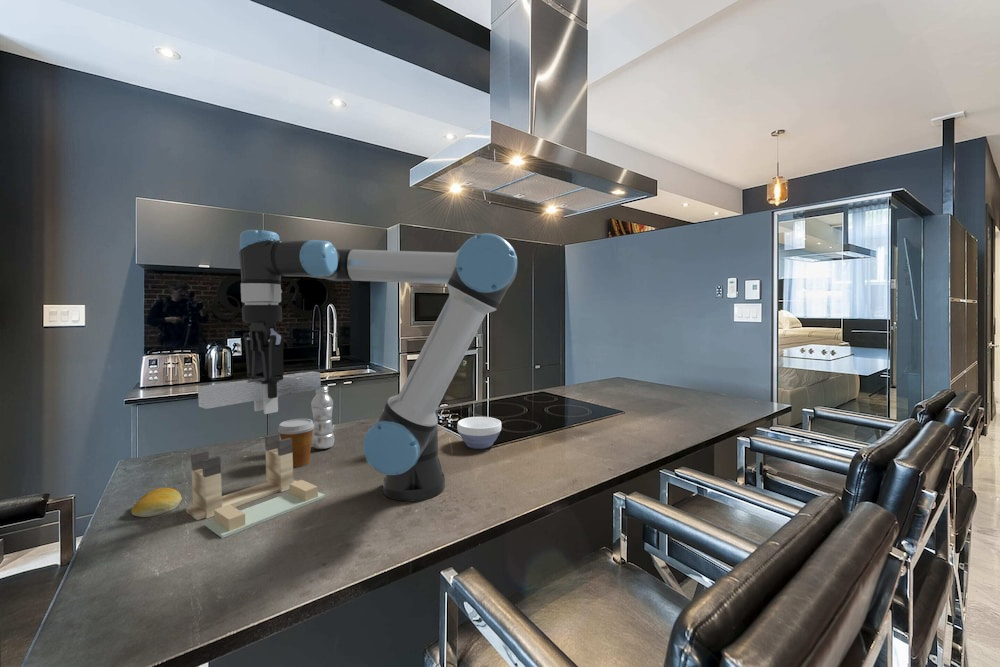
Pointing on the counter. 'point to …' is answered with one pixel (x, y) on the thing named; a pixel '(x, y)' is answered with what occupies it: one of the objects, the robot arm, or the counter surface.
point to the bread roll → (157, 502)
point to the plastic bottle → (322, 419)
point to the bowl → (479, 431)
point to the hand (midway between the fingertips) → (266, 411)
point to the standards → (210, 489)
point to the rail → (255, 389)
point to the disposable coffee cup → (298, 439)
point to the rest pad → (262, 509)
